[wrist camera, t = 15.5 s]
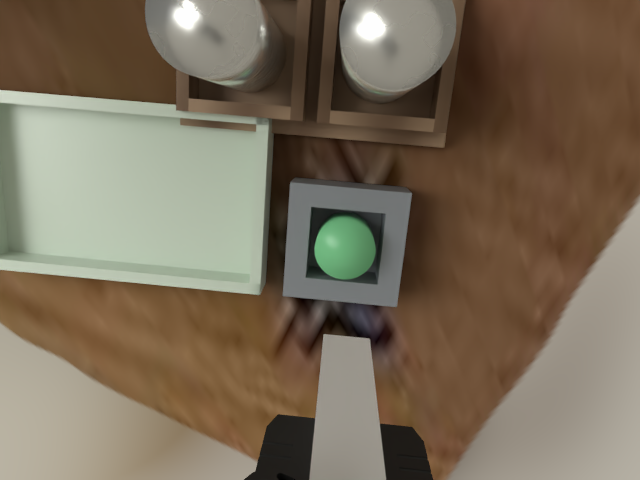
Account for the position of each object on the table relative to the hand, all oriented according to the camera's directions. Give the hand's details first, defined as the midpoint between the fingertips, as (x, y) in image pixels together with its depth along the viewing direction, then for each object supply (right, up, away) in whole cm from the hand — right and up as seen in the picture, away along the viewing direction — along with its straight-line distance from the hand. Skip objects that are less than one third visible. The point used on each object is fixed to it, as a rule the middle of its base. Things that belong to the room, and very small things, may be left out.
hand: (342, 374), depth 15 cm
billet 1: (-5, +17, +15) cm, 23 cm away
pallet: (-1, +17, +16) cm, 23 cm away
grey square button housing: (+1, +5, +19) cm, 19 cm away
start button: (+1, +4, +18) cm, 18 cm away
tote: (-15, +8, +19) cm, 25 cm away
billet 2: (+3, +16, +14) cm, 22 cm away
